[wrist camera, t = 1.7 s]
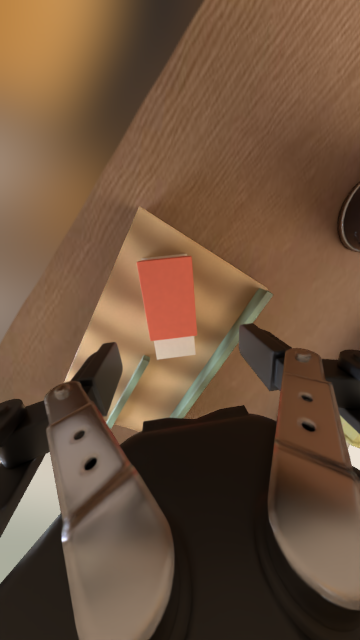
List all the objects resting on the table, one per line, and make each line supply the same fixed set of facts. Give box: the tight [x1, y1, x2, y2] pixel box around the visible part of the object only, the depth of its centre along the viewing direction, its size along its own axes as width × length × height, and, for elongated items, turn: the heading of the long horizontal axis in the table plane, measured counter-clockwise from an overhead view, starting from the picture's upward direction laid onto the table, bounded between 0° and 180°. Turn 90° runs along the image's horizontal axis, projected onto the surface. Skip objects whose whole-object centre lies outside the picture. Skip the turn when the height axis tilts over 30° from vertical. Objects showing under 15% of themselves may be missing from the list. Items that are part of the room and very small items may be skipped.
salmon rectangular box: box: [137, 254, 197, 360], centre depth 20 cm, size 12×5×5 cm, turn 6°
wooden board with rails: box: [64, 206, 273, 432], centre depth 25 cm, size 30×18×5 cm, turn 151°
